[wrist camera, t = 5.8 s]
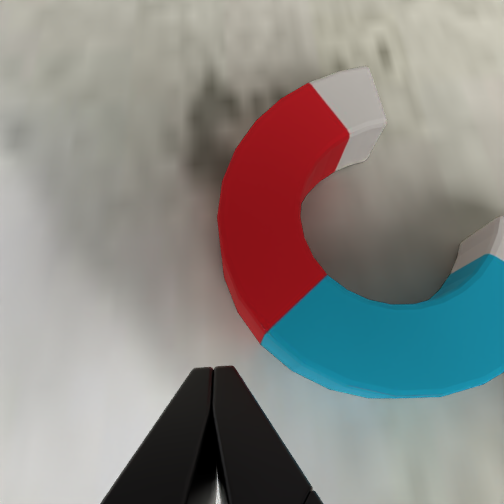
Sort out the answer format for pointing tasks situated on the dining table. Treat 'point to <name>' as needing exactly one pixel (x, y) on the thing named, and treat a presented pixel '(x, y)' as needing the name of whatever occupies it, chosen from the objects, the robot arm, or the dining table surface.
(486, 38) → the dining table surface
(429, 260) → the dining table surface
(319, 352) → the magnet
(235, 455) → the robot arm
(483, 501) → the dining table surface
